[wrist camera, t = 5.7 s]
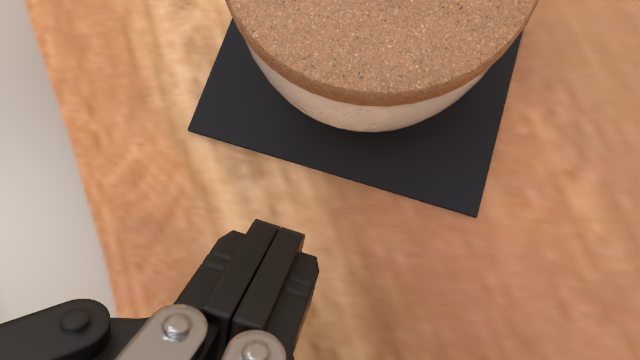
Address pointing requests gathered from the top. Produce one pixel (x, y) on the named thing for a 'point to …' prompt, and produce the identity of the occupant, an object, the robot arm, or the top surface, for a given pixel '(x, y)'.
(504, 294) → the top surface
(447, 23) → the trinket box
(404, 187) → the runner mat
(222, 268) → the robot arm
